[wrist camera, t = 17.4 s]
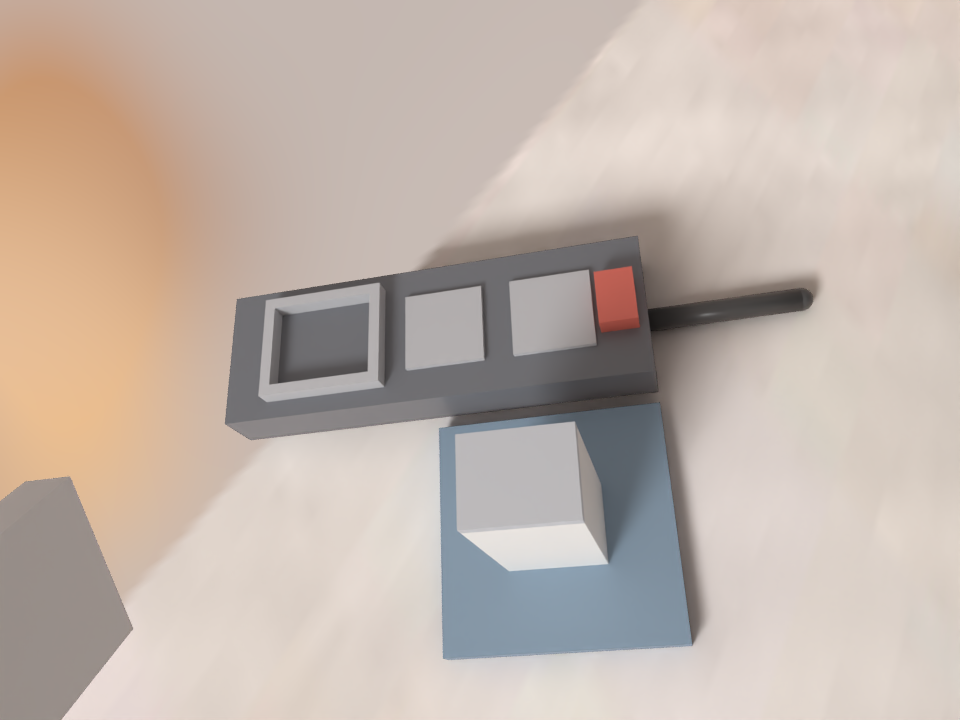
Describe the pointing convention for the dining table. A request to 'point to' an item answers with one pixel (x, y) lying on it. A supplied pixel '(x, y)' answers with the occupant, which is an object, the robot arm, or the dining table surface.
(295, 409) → the power strip
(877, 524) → the dining table surface
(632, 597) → the mat
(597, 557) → the block
